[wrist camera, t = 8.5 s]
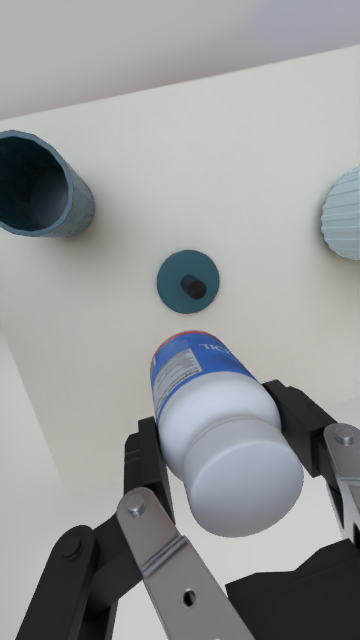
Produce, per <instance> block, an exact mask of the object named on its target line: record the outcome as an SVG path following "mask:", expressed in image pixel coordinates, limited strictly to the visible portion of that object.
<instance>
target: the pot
mask: <svg viewBox="0 0 360 640" xmlns="http://www.w3.org/2000/svg"><path fill="white" fill-rule="evenodd" d="M93 216H94V200H93V196H92V193H91V191H90V189H89V188H88V186H87V185H86V184H85V182H84V181H83V180H82V178H81V177H80V176H79V175H78V174H77V173H76V172H75V171H74V170H73V169H72V167H71V166H70V165H69V164H68V163H67V162H66V161H65V160H64V159H63V158H62V156H61V155H60V154H59V153H58V152H57V151H56V150H55V149H54V148H53V147H52V146H51V145H49V144H48V143H46V142H45V141H43V140H41V139H40V138H38V137H37V136H35V135H33V134H29V133H25V132H20V131H15V130H9V131H4V132H0V227H2V228H3V229H5V230H7V231H9V232H11V233H13V234H17V235H24V236H30V237H70V236H74V235H78V234H80V233H81V232H83V231H84V230H85V229H86V228H87V227H88V226H89V225H90V223H91V221H92V219H93Z"/></svg>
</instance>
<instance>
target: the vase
mask: <svg viewBox="0 0 360 640" xmlns="http://www.w3.org/2000/svg"><path fill="white" fill-rule="evenodd" d="M322 210H323V215H322V216H321V221H322V227H321V231H322V232H323V233H324V240H325V242H327V243H328V245H329V248H330V249H331V250H333V251H335V252H336V253H337V254H338V255H339V256H342V257H346V258H348V259H352V260H360V166H359V167H357V168H355V169H353V170H352V171H350V172H348V173H346V174H345V175H344V176H343V177H342V178H341V179H340V180H339V181H337V182H336V183H335V185H334V186H333V188H332V191H331V192H329V193H328V195H327V197H326V203H325V204H324V205H323V208H322Z"/></svg>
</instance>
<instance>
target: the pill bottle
mask: <svg viewBox="0 0 360 640" xmlns="http://www.w3.org/2000/svg"><path fill="white" fill-rule="evenodd" d="M150 378H151V386H152V393H153V401H154V409H155V416H156V424H157V430H158V437H159V443H160V448H161V452H162V455H163V458H164V460H165V462H166V464H167V466H168V468H169V469H170V470H171V472H172V473H173V474H174V475H175V476H176V477H177V478H179V479H180V480H181V481H183V483H184V486H185V489H186V494H187V498H188V502H189V505H190V509H191V512H192V514H193V516H194V518H195V520H196V521H197V523H198V524H199V525H200V526H201V527H202V528H204V529H205V530H206V531H208V532H210V533H212V534H215V535H218V536H222V537H244V536H248V535H252V534H255V533H259V532H261V531H263V530H265V529H267V528H269V527H270V526H272V525H274V524H275V523H277V522H278V521H279V520H280V519H282V518H283V517H284V516H285V515H286V514H287V513H288V512H289V511H290V510H291V508H292V507H293V506H294V504H295V503H296V501H297V499H298V497H299V495H300V493H301V490H302V486H303V478H304V475H303V468H302V465H301V463H300V460H299V459H298V457H297V455H296V454H295V452H294V451H293V450H292V448H291V447H290V446H289V444H288V443H287V441H286V440H285V438H284V436H283V435H282V433H281V420H280V415H279V411H278V408H277V406H276V404H275V402H274V400H273V399H272V397H271V396H270V395H269V393H268V392H267V391H266V390H265V388H264V387H263V386H262V385H261V384H260V383H259V382H258V381H257V380H256V379H255V378H254V377H253V375H252V374H251V373H250V372H249V371H248V370H247V369H246V368H245V367H244V366H243V365H242V364H241V362H240V361H239V360H238V359H237V358H236V357H235V356H234V355H233V354H232V353H231V352H230V351H229V350H228V348H227V347H226V346H225V345H224V344H223V343H222V342H221V341H220V340H219V339H217V338H216V337H215V336H213V335H211V334H209V333H207V332H203V331H198V330H189V331H183V332H180V333H177V334H175V335H173V336H171V337H170V338H168V339H167V340H165V341H164V342H163V343H162V344H161V345H160V346H159V347H158V349H157V350H156V352H155V354H154V356H153V359H152V362H151V368H150Z"/></svg>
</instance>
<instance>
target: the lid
mask: <svg viewBox="0 0 360 640" xmlns="http://www.w3.org/2000/svg"><path fill="white" fill-rule="evenodd" d="M218 288H219V273H218V270H217V267H216V266H215V264H214V262H213V261H212V260H211V259H210V258H209V257H208V256H206V255H205V254H203V253H201V252H198V251H194V250H184V251H180V252H177V253H175V254H173V255H171V256H170V257H169V258H167V259H166V260H165V262H164V263H163V264H162V266H161V268H160V270H159V272H158V276H157V289H158V292H159V295H160V297H161V299H162V301H163V302H164V303H165V304H166V305H167V306H168V307H169V308H171V309H172V310H174V311H176V312H179V313H187V314H188V313H195V312H198V311H201V310H203V309H204V308H206V307H207V306H208V305H209V304H210V303H211V302H212V301H213V300H214V298H215V296H216V294H217V292H218Z"/></svg>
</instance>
